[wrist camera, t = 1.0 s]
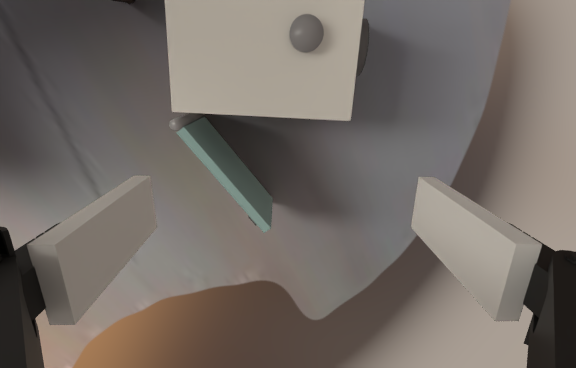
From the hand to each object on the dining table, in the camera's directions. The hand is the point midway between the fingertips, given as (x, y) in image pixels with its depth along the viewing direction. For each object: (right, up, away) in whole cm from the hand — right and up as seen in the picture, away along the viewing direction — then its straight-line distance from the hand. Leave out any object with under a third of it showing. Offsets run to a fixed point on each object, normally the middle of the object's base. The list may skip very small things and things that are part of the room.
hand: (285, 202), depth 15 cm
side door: (-6, +3, +18) cm, 20 cm away
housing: (-2, +13, +16) cm, 20 cm away
